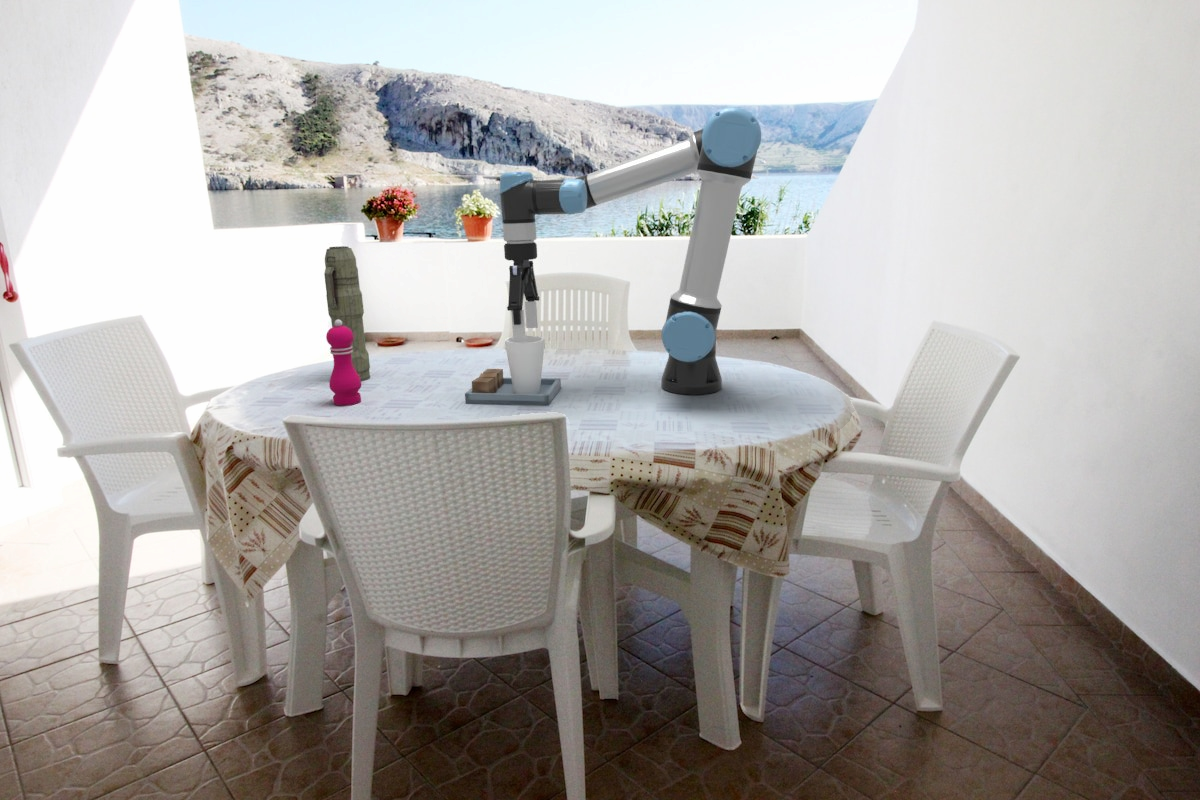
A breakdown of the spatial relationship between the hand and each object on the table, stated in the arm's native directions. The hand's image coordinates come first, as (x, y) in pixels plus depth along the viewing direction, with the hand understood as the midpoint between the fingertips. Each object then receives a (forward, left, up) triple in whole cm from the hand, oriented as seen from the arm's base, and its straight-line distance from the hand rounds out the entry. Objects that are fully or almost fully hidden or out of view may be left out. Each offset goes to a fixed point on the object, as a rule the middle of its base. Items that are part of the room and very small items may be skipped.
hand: (525, 333), depth 170 cm
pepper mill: (+42, +9, -16) cm, 46 cm away
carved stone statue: (+51, -13, -16) cm, 55 cm away
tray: (+3, 0, -16) cm, 16 cm away
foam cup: (0, 0, -15) cm, 15 cm away
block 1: (+10, +4, -15) cm, 18 cm away
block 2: (+10, 0, -15) cm, 18 cm away
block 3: (+10, -5, -15) cm, 18 cm away
